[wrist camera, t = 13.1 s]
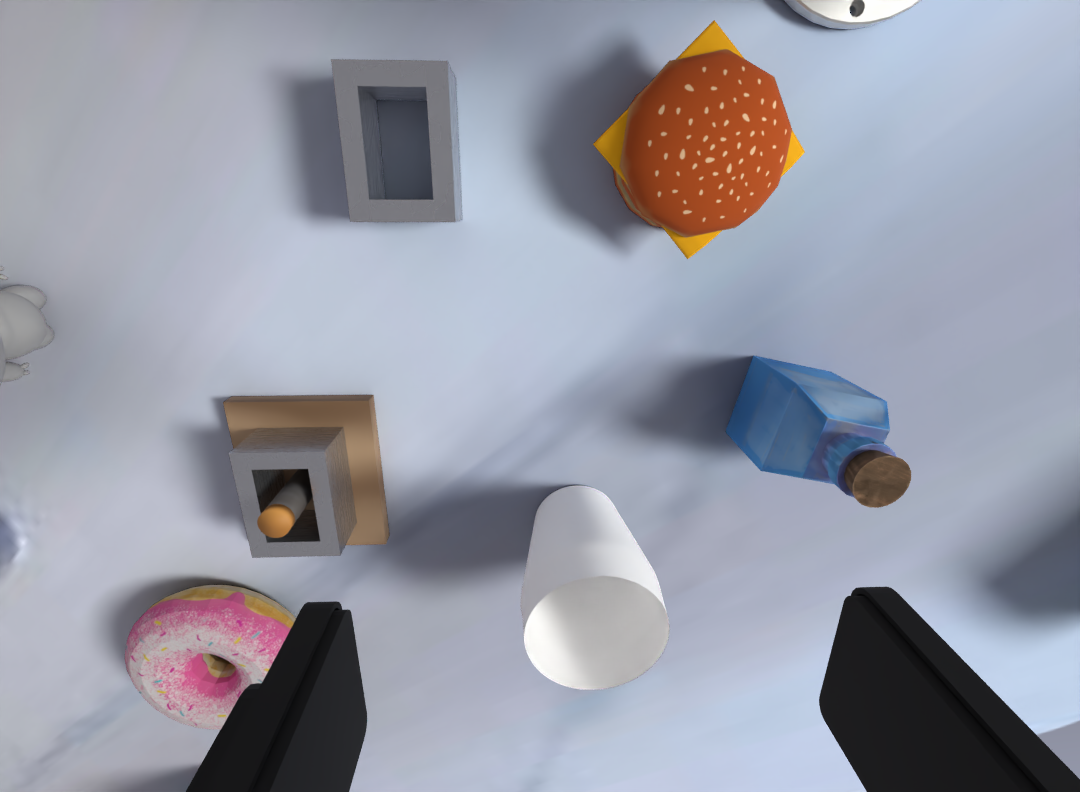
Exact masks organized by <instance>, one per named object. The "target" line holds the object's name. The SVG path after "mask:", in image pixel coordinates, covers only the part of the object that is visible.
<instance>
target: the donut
mask: <svg viewBox="0 0 1080 792" xmlns="http://www.w3.org/2000/svg"><path fill="white" fill-rule="evenodd" d="M295 620H296V618H295V617H294V616H293V615H292V614H291V613H290V612H289V611H288V610H286V609H285V608H284V607H282V606H281V605H280V604H278V603H277V602H275V601H273V600H271V599H270V598H268V597H266V596H264V595H262V594H260V593H257V592H254V591H251V590H248V589H245V588H241V587H235V586H228V585H205V586H199V587H193V588H189V589H186V590H184V591H181V592H178V593H175V594H173V595H170V596H168V597H165V598H164V599H162V600H160V601H159V602H157V603H155V604H154V605H152V606H151V607H150V608H149V609H148V610H147V611H146V612H145V613H144V614H143V615H142V616H141V617H140V619H139V620H138V621H137V622H136V623H135V624H134V625H133V627H132V630H131V632H130V634H129V636H128V640H127V644H126V650H125V663H126V668H127V672H128V674H129V676H130V678H131V680H132V682H133V684H134V685H135V687H136V689H137V690H138V691H139V693H140V694H141V695H142V697H143V698H144V699H145V700H146V701H147V702H148V703H149V704H150V705H151V706H153V707H154V708H155V709H156V710H158V711H159V712H161V713H162V714H164V715H165V716H167V717H169V718H171V719H173V720H175V721H178V722H180V723H182V724H186V725H190V726H193V727H197V728H205V729H221V728H222V727H223V725H224V723H225V721H226V719H227V718H228V716H229V714H230V712H231V711H232V709H233V707H234V705H235V704H236V702H237V700H238V698H239V697H240V695H241V694H242V692H243V691H244V690H245V689H246V688H247V687H248V686H249V685H250V684H255V683H262V682H263V680H264V678H265V676H266V674H267V673H268V671H269V669H270V667H271V665H272V663H273V661H274V659H275V658H276V656H277V654H278V652H279V650H280V648H281V646H282V644H283V643H284V641H285V639H286V637H287V635H288V633H289V631H290V629H291V628H292V626H293V624H294V622H295ZM215 655H216V656H219V657H222V658H224V659H226V660H223V659H221V658H218V657H216V656H215ZM227 660H228V661H227Z"/></svg>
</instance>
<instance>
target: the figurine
mask: <svg viewBox="0 0 1080 792" xmlns="http://www.w3.org/2000/svg"><path fill="white" fill-rule="evenodd" d="M2 270H4V267H2V266H0V271H2ZM0 279H2V280H7V279H8V277H6V276H5V275H2V274H0ZM45 303H46V297H45V294H44V293H43V292H42V291H40V290H39V289H37V288H35V287H32V286H25V285H17V286H10V287H7V288H4V289H2V290H0V385H1V383H2V382H8V381H13V380H17V379H19V378H21V377H22V376H23V375H28V374H29V373H30V371H25V370H24V369H25V368H27V367H28V366H29V363H24V364H22V365H21V366H20V365H19V364H16V363H12V362H6V361H5V360H9V359H14V358H18V357H21V356H24V355H26V354H28V353H30V352H32V351H34V350H37V349H40V348H43V347H45V346H47V345H48V344H49V343H50V342H51V341H52V340H53V338H54V332H53V330H52V328H51V327H50V326H48V325H47V324H46V320H45V317H44V315H43V314H42V312H41V311H40V309H41V308H42V307H43V306H44V305H45Z"/></svg>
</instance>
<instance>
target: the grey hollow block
mask: <svg viewBox="0 0 1080 792" xmlns="http://www.w3.org/2000/svg"><path fill="white" fill-rule="evenodd" d="M331 62H332V70H333V79H334V87H335V96H336V104H337V113H338V122H339V130H340V139H341V147H342V156H343V164H344V173H345V181H346V190H347V198H348V207H349V215H350V222H457V221H461V220H462V199H461V177H460V156H459V134H458V112H457V91H456V77H455V75H454V73H453V71H452V69H451V67H450V65H449V63H448V61H410V60H339V59H331ZM377 100H396V101H427V109H428V125H429V140H430V156H431V172H432V187H433V200H386V196H385V185H384V175H383V164H382V153H381V143H380V132H379V121H378V110H377Z"/></svg>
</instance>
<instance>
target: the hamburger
mask: <svg viewBox="0 0 1080 792" xmlns="http://www.w3.org/2000/svg"><path fill="white" fill-rule="evenodd" d="M593 145H594V146H595V147H596V149H597V150H598V151H599V152H600V153H601V154H602V156H603V157H604V158H605V159H606V160H607V161H608V163H609V164H610V165H611V166H612V167H613V172H614V179H615V185H616V187H617V189H618V190H619V192H620V194H621V196H622V198H623V199H624V201H625V203H626V205H627V206H628V208H629V209H630V210H631V211H632V212H634V213H635V214H636V215H638V216H639V217H640V218H642V219H643V220H644V221H646V222H647V223H648V224H650V225H652V226H657V227H661V228H664V230H665V231H666V232H667V234H668V235H669V236H670V237H671V239H672V240H673V241H674V242H675V244H676V245H677V246H678V248H679V249H680V250H681V251H682V253H683V254H684V255H685V257H686V258H687V259H688V258H690V257H691V256H692V255H694V254H695V253H696V252H698V251H699V250H700V249H701V248H703V247H704V246H705V245H707V244H708V243H709V242H710V241H711V240H712V239H713V238H714V237H716V236H717V235H718V234H719V233H720V232H721V231H722V230H726V229H731V228H736V227H737V226H738V225H740V224H741V223H742V222H744V221H745V220H746V219H748V218H749V217H750V216H752V215H753V214H754V213H756V212H757V211H758V210H759V209H760V207H761V206H762V205H763V204H764V202H765V201H766V200H767V199H768V197H769V196H770V195H771V194H772V193H773V191H774V190H775V189H776V188H777V186H778V184H779V181H780V178H781V176H782V175H783V174H785V173H786V172H787V171H788V170H789V169H790V168H791V167H792V166H793V165H794V164H795V162H796V161H797V160H798V159H799V158H800V157H801V156H802V155H803V154H804V153H805V151H804V149H803V148H802V146H801V144H800V143H799V141H798V139H797V138H796V136H795V134H794V133H793V131H792V128H791V125H790V122H789V119H788V116H787V113H786V110H785V107H784V104H783V102H782V99H781V96H780V93H779V90H778V87H777V84H776V81H775V78H774V77H773V76H772V75H770V74H768V73H767V72H765V71H763V70H762V69H760V68H758V67H757V66H755V65H753V64H752V63H750V62H748V61H747V60H745V59H744V58H743V56H742V55H741V54H740V52H739V51H738V50H737V49H736V47H735V46H734V45H733V43H732V42H731V41H730V40H729V38H728V37H727V36H726V35H725V33H724V32H723V31H722V29H721V28H720V27H719V26H718V24H717V23H716V22H715V21H713V22H712V23H711V24H710V25H709V26H708V27H707V28H706V29H705V30H704V31H703V32H702V33H701V34H700V35H699V36H698V37H697V38H696V39H695V40H694V41H693V42H692V43H691V45H690V46H689V47H688V48H687V49H686V50H685V51H684V52H683V53H682V54H681V55H680V56H679V57H678V58H677V59H676V60H672V61H669V62H668V63H667V64H666V65H665V67H664V68H663V69H662V70H661V71H660V72H659V73H658V75H657V76H656V77H655V78H654V79H653V80H652V81H651V83H650V84H649V85H647V86H646V87H645V88H644V89H643V91H641V92H640V93H639V94H637V95H636V96H635V98H634V100H633V101H632V103H631V104H630V106H629V107H628V109H627V110H626V111H625V112H624V113H623V114H622V115H621V116H620V117H619V118H618V119H617V120H616V121H615V122H614V123H613V124H612V125H611V126H610V127H609V128H608V129H607V130H606V131H605V132H604V133H603V134H602V135H601V136H600V137H599V138H598V139H597V140H596V142H595V143H594V144H593Z"/></svg>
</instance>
